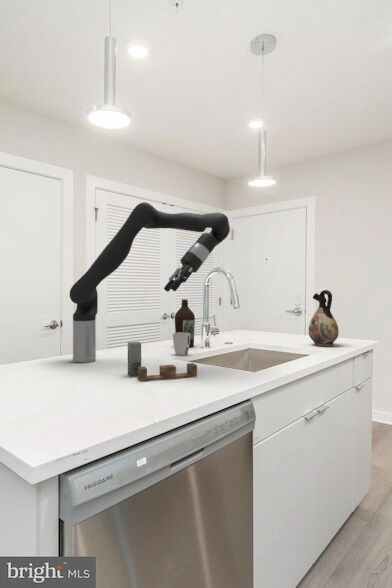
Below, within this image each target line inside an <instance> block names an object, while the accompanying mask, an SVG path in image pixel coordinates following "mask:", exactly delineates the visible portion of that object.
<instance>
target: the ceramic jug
mask: <svg viewBox="0 0 392 588" xmlns="http://www.w3.org/2000/svg"><path fill="white" fill-rule="evenodd" d="M326 295H327V298H326ZM312 299H313V300H315V301H317V302H318V303H319V304H318V308H317V309H316V311H315V312H314V314H313V315H312V318H311V319H310V321H309V324H308V325H309V326H308V335H309V338H310V339H311V340H312V342H313V343H314V346H316V347H332V346H334V343H335V342H336V341H337V339H338V337H339V325H338V322H337V321H336V319H335V317H334V315H333V314H332V312H331V308H332V302H333V295H332V292H331V291H330V290H327V289H325V290H322V291H320V293H319V294H318V293H317V292H316V293H314V294H313V296H312Z"/></svg>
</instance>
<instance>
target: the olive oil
mask: <svg viewBox="0 0 392 588" xmlns="http://www.w3.org/2000/svg"><path fill="white" fill-rule="evenodd" d="M188 301H189V300H188V299H187V298H186V299H185V298H184V299H181V306H180V308H179V309H178V310H177V311H176V313H175V316H174V331H175V332H174V333H178V332H186V333H190V344H189V349H192V348H194V347H195V327H196V326H195V324H196V318H195V317H196V316H195V314H194V312H193V311H192V310H191V308H190V307H189V302H188Z"/></svg>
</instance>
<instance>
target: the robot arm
mask: <svg viewBox="0 0 392 588" xmlns="http://www.w3.org/2000/svg"><path fill="white" fill-rule="evenodd" d="M143 228H144V229H148V230H150V229H174V230H181V231H188V232H196V233H202V234H201V235H200V236H199V237H198V238H197V240H196V241H195V242H194V243H193V244H192V245H191V246H190V247H189V249H188V250H187V251H186V252H185V254H184V255H183V256H182V257H181V258H180V264H181V265H182V266H181V267H177V269H176V270H175V271H174V272H173V274H171V276H170V277H168V278H169V279H168V282H167V283H166V285H165V286H164V287H163V290H165V292H166V293H167V292H168V293H169V292H170V291H171V290H172V291H173V292H176V291H178V289H179V288H180V286H181V285H182V284H183V283H186V282H187V281H188V279H189V278H190V277H191V275H192V274H193V273H197V272H198V270H199V269H200V268H201V266H202V265H203V264H204V263H205V262H206V260H207V259H208V257H209V255H210V254H211V253H212V252H213V250H214V249H215V247H216V246H218V245H219V244H221V243H222V242H223V241H224V240H226V238H227V237H228V236H229V234H230V231H231V227H230V222H229V218H228V216H227V215H226V214H224V213H221V212H210V213H203V214H201V213H194V212H193V213H192V212H179V213H168V212H163V211H161V210H157V208H155V207H154V206H153V205H152V204H150V203H149V202H140V203H138V204H137V205H136V206H135V207H134V208H133V210H132V211H131V212H130V214H129V215H128V217H127V219H126V220H125V222H124V223H123V225H122V226H121V227H120V229H119V230H118V231H117V233H116V234H115V235H114V236H113V237H112V239H110V241H109V243H107V245H105V247H104V248H103V250H102V251H101V253H100V254H99V255H98V256H97V258H96V259H95V260H94V261H93V263H92V264H91V265H90V267H89V268H88V270H86V272H85V273H84V274H83V275H82V276H80V278H79V279H78V280H77V281H76V282H75V283H74V284H73V285H72V286H71V288H70V291H69V298H70V301H71V302H72V303H74V304H76V309H75V311H74V313H72V362H73V363H92V362H95V361H96V360H97V359H96V358H97V354H96V349H97V348H96V347H97V346H96V345H97V343H96V336H97V335H96V331H97V330H96V329H97V328H96V323H97V322H96V318H97V317H96V316H97V313H98V303H99V302H98V296H99V295H98V294H99V293H98V290H97V287H98V286H99V285H100V284H101V282H102V281H104V280H105V279H106V278H108V277H109V276H110V275H111V274H112V273H114V272H115V271H116V270H117V269H118V268H119V267H120V266H121V265H122V264H123V263H124V261H125V260H126V259H127V258H128V256H129V254H130V252H131V248H132V246H133V242H134V240H135V238H136V237H137V235H138V234H139V233H140V232H141V230H142V229H143ZM208 228H210V229H211V230H210V232H205V231H206V229H208Z"/></svg>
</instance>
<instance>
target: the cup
mask: <svg viewBox="0 0 392 588" xmlns="http://www.w3.org/2000/svg"><path fill="white" fill-rule="evenodd" d="M172 341H173V342H172V343H173V344H172V345H173V349H174V352H175V356H178V357H179V356H180V357H181V356H183V357H184V356H188V353H189V349H190V348H189V344H190V333H186V332H178V333H175V332H172Z"/></svg>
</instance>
